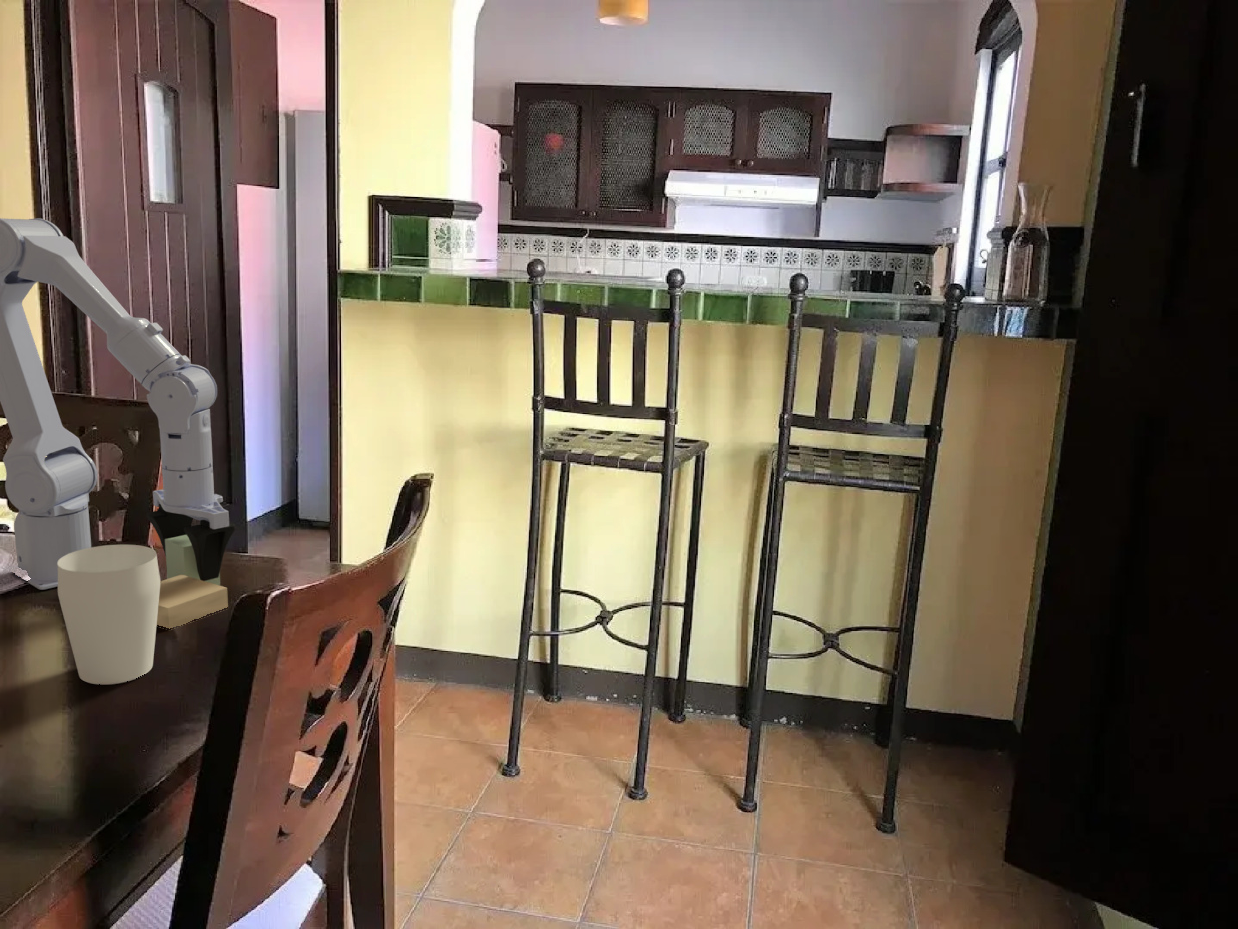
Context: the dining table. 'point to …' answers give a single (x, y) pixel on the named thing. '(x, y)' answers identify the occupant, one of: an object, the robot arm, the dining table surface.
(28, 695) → the dining table surface
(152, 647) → the cup
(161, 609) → the beech base
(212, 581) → the green block
